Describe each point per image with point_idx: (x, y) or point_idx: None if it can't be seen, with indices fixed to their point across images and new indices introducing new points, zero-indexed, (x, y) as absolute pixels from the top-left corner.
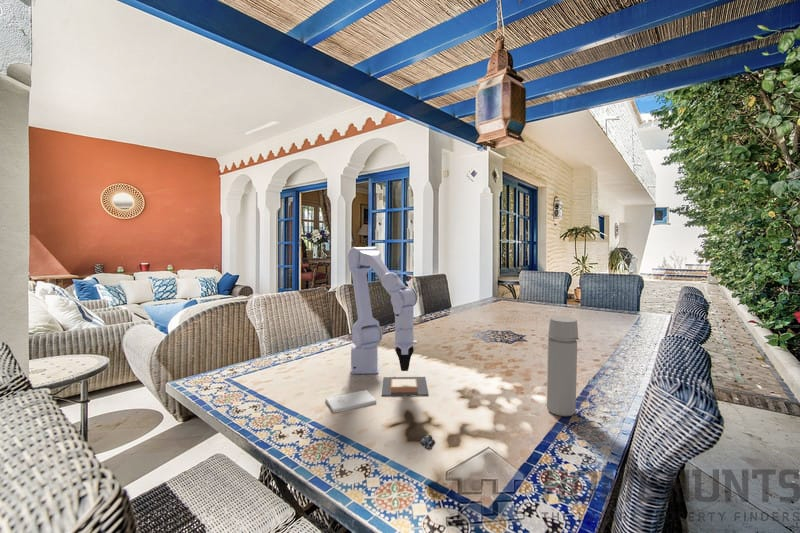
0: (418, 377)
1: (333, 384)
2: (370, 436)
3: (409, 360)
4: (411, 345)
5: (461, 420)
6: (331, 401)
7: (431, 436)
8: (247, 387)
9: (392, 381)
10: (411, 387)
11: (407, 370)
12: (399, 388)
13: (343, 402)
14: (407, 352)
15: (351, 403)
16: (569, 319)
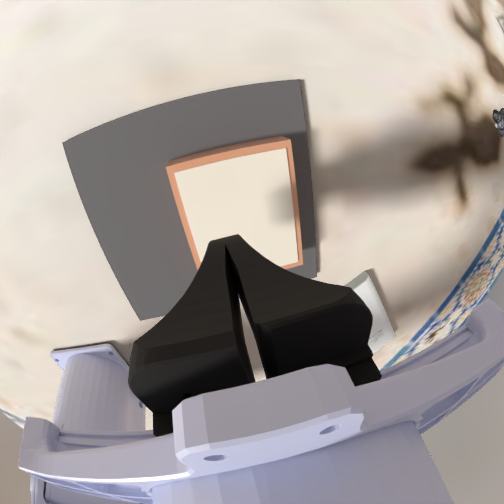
0: (80, 174)
1: None
2: (477, 231)
3: (278, 267)
4: (442, 374)
5: (444, 16)
6: None
7: (498, 112)
8: None
9: None
10: (294, 170)
11: (241, 237)
12: (298, 226)
13: (369, 339)
14: (498, 314)
15: (378, 322)
16: None
